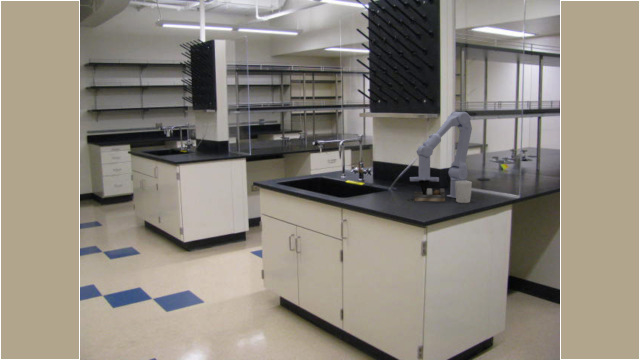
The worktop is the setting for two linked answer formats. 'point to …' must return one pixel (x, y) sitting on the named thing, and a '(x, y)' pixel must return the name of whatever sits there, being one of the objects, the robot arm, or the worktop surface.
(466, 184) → the white cup
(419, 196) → the wooden shadow box
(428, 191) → the grey rectangular block
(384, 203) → the worktop surface
